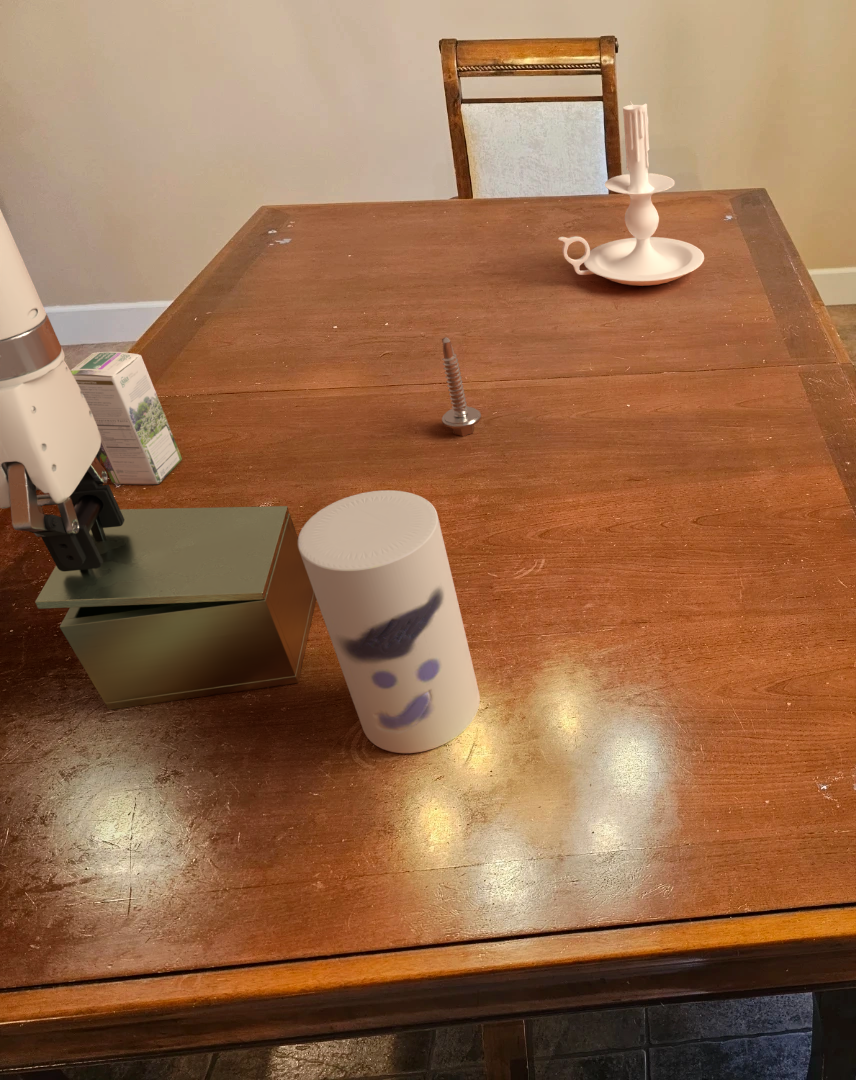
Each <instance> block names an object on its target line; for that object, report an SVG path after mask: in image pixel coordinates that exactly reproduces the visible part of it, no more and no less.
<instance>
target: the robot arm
mask: <svg viewBox="0 0 856 1080" xmlns="http://www.w3.org/2000/svg"><path fill="white" fill-rule="evenodd" d="M65 358H66V355H65V352H64V350H63V347H62V345H61V343H60V340H59V338H58V335H57V334H56V332H55V330H54V327H53V325H52V323H51V320H50V318H49V316H48V313H47V311H46V309H45V308H44V305H43V302H42V300H41V298H40V296H39V294H38V291H37V289H36V286H35V285H34V282H33V279H32V277H31V275H30V274H29V271H28V268H27V266H26V264H25V261H24V259H23V257H22V254H21V253H20V250H19V248H18V245H17V244H16V241H15V239H14V237H13V235H12V232H11V230H10V228H9V225H8V222H7V221H6V219H5V216H4V213H3V212H2V209H1V208H0V509H9V508H10V514H11V515H10V516H11V524H12V527H13V529H14V530H15V531H20V532H21V531H22V532H29V533H33V534H34V535H35V536H36V537H37V538H41V540H42V542H43V543H44V545H45V547H46V549H47V551H48V552H49V554H50V556H51V558H52V560H53V562H54V564H55V567H56V566H57V568H58V569H59V570H60V571H75V570H85V569H95V568H100V567H101V565H102V563H103V560H102V558H101V556H100V554H99V552H98V550H97V547H96V545H95V543H94V541H93V539H92V537H91V535H90V533H89V531H88V529H87V527H86V525H80V526H79V523H78V519H77V516H76V513H75V509H74V507H75V505H76V504H77V502H78V500H79V499H80V497H82V496H84V495H93V496H96V497H98V498H99V499H100V500H101V501H102V503H103V508H102V510H101V512H100V514H99V518H100V521H101V524H102V527H103V528H108V527H118V526H122V525H123V523H124V517H123V515H122V513H121V511H120V509H121V508H120V506H119V504H118V502H117V500H116V498H115V495H114V493H113V490H112V489H111V486H110V484H107V483H108V480H109V478H108V477H109V475H108V472H107V470H106V468H105V467H103V465H102V463H101V457H100V455H101V453H99V451H100V450H99V449H100V445H101V436H100V433H99V430H98V427H97V424H96V422H95V419H94V417H93V415H92V412H91V410H90V408H89V406H88V404H87V402H86V400H85V398H84V396H83V394H82V392H81V390H80V388H79V386H78V384H77V382H76V380H75V378H74V376H73V375H72V373H71V371H70V370H71V369H70V368H69V366H68V364H67V363H66V361H65ZM37 491H41V492H42V493H43V494H37ZM56 505H57V508H58V512H59V514H60V516H59V515H56V514H53V513H51V514H45V512H44V507H43V506H56Z"/></svg>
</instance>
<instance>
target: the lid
mask: <svg viewBox="0 0 856 1080" xmlns="http://www.w3.org/2000/svg"><path fill="white" fill-rule="evenodd" d="M102 508H103V503H102V501H101V500H100V499H99V498H98V497H96V496H93V495H84V496H82V497H80V499H79V500H78V502H77V504H76V505H75V507H74V509H75V513H76V516H77V519H78V523H79V526H80V525H86V527H87V529H88V531H89V533H90V535H91V537H92V539H93V541H94V543H95V545H96V547H97V550H98V552H99V554H100V556H101V558H102V560H103V563H102V565H101V567H100V568H95V569H85V570H75V571H60V570H59V569H58V568H57V566H56V565H55V567H54V569H53V570H52V572H51V573H50V575H49V577H48V578H47V581H46V582H45V584H44V586H43V588H42V590H41V591H40V592H39V594H38V596H37V598H36V599H35V601H34V602H35V605H36V607H37V609H38V610H43V609H46V610H47V609H48V610H49V609H68V608H69V609H70V608H72V607H96V606H121V605H145V604H169V603H194V602H218V601H242V600H264V599H265V595H266V592H267V588H268V585H269V581H270V577H271V574H272V570H273V567H274V563H275V560H276V556H277V553H278V549H279V546H280V542H281V539H282V535H283V531H284V528H285V524H286V521H287V517H288V514H290V512H289V507H288V506H287V505H273V506H272V505H271V506H270V505H269V506H227V507H226V506H225V507H222V506H221V507H219V506H218V507H217V506H216V507H175V508H174V507H171V508H169V507H168V508H125V509H124V508H122V509H121V508H120V511H121V513H122V515H123V517H124V523H123V525H122V526H118V527H108V528H103V527H102V524H101V521H100V518H99V514H100V512H101V510H102Z"/></svg>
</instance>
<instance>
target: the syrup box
mask: <svg viewBox="0 0 856 1080" xmlns="http://www.w3.org/2000/svg"><path fill="white" fill-rule="evenodd" d="M70 371H71V373H72V375H73V376H74V378H75V380H76V382H77V384H78V386H79V388H80V390H81V392H82V394H83V396H84V398H85V400H86V402H87V404H88V406H89V408H90V410H91V412H92V415H93V417H94V419H95V422H96V424H97V427H98V430H99V433H100V436H101V445H100V449H99V450H100V451H99V453H101V455H100V460H101V461H102V464H103V465H104V469H105V471H106V473H107V475H108V477H109V479H110V481H111V483H113V484H115V485H160V484H161V483H162V482H163V480H165V478H166V477H167V476H168V475H169V474H171V472H172V471H173V470H174V469H175V468H176V467H177V466H178V465H179V464H180V463H181V461H182V460H183V457H182V454H181V452H180V449H179V447H178V444H177V442H176V440H175V437H174V435H173V432H172V429H171V427H170V424H169V422H168V419H167V416H166V414H165V412H164V410H163V406H162V404H161V402H160V399H159V396H158V394H157V391H156V389H155V387H154V384H153V382H152V379H151V376H150V374H149V371H148V369H147V367H146V364H145V362H144V359H143V357H142V354H138V353H130V352H123V351H96V352H92V353H90V354H89V355H88V356H87V357H86V358H84V359H83V360H82V361H80V362H79V363H77V364H76V365H75V366H74V367H73V368H71V369H70Z"/></svg>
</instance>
